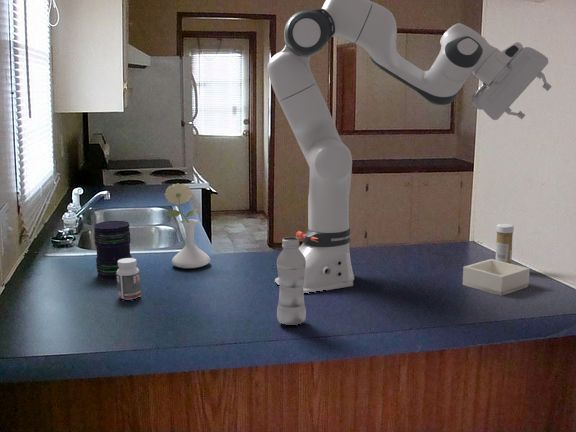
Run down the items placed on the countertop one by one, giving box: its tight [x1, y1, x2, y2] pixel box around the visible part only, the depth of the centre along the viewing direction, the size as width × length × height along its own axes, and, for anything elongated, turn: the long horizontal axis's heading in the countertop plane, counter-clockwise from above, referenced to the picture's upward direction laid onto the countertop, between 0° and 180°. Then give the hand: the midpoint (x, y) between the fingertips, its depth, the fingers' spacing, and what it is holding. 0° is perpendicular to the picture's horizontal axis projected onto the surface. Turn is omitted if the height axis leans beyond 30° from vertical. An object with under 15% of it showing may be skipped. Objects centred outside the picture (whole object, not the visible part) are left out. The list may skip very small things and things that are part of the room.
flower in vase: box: [163, 182, 211, 269], centre depth 198 cm, size 13×11×25 cm
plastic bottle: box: [276, 236, 307, 326], centre depth 151 cm, size 6×7×20 cm
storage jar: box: [93, 220, 133, 281], centre depth 190 cm, size 10×10×15 cm
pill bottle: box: [116, 257, 142, 299], centre depth 171 cm, size 6×6×10 cm
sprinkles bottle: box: [494, 223, 514, 264], centre depth 190 cm, size 5×5×14 cm
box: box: [462, 258, 531, 297], centre depth 178 cm, size 12×12×5 cm
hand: (536, 103), depth 174 cm, fingers open, 8 cm apart
